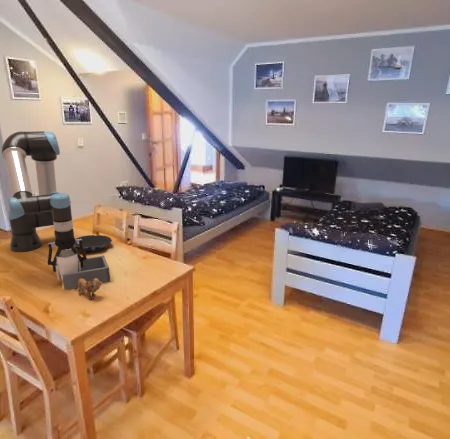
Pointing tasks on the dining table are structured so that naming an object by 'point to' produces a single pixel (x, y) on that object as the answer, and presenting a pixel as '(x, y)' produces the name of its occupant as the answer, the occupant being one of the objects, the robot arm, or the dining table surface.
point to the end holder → (88, 272)
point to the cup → (67, 262)
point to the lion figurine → (89, 286)
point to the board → (93, 243)
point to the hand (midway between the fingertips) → (69, 275)
